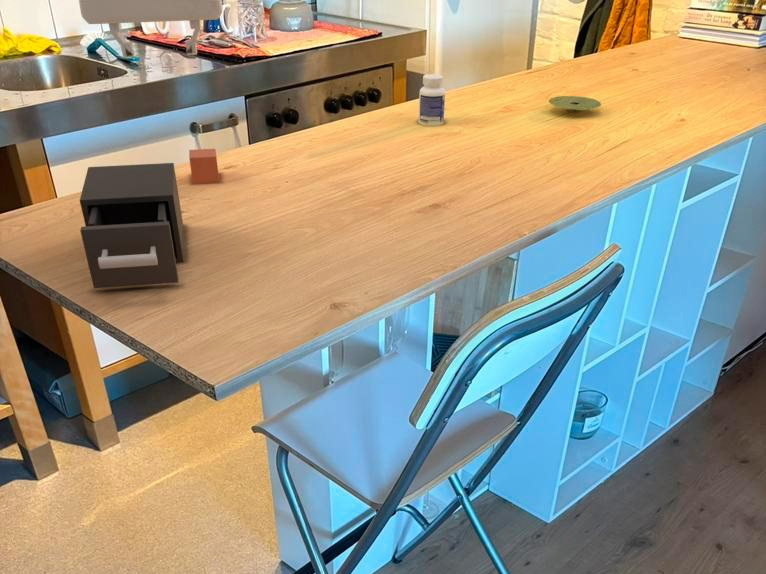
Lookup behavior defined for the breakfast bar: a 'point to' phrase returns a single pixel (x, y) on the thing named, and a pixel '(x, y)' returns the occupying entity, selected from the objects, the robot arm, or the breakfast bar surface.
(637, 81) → the breakfast bar surface
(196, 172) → the block
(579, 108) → the grey green disc
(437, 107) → the pill bottle
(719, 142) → the breakfast bar surface
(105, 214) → the drawer
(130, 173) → the cabinet
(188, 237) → the breakfast bar surface
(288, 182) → the breakfast bar surface
